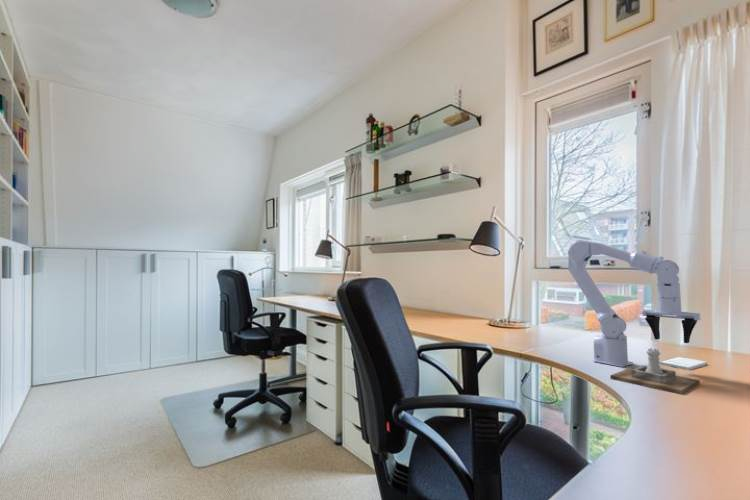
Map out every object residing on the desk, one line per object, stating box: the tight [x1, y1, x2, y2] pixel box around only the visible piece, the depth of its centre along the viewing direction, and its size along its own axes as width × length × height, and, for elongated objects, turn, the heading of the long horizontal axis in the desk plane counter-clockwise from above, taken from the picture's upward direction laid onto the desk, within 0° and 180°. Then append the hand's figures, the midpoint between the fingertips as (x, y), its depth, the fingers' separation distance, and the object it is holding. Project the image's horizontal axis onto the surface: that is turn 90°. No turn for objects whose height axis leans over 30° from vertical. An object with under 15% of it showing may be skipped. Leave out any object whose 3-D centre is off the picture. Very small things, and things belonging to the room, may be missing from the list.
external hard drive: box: [659, 356, 708, 371], centre depth 123 cm, size 2×8×12 cm
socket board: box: [609, 365, 701, 395], centre depth 107 cm, size 17×14×3 cm
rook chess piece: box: [645, 348, 664, 375], centre depth 107 cm, size 4×4×8 cm
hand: (671, 340), depth 117 cm, fingers open, 7 cm apart
